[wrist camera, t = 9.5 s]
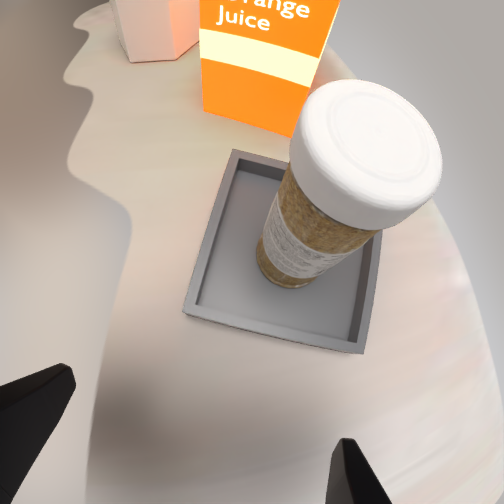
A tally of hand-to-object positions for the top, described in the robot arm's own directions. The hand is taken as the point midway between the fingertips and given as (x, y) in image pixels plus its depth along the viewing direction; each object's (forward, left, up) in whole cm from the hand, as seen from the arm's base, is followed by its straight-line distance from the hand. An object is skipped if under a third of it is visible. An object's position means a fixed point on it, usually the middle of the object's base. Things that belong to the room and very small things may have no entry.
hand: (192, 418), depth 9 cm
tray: (+9, -3, -11) cm, 14 cm away
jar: (+28, +14, -11) cm, 33 cm away
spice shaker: (+9, -3, -10) cm, 14 cm away
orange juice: (+23, +2, -11) cm, 26 cm away
